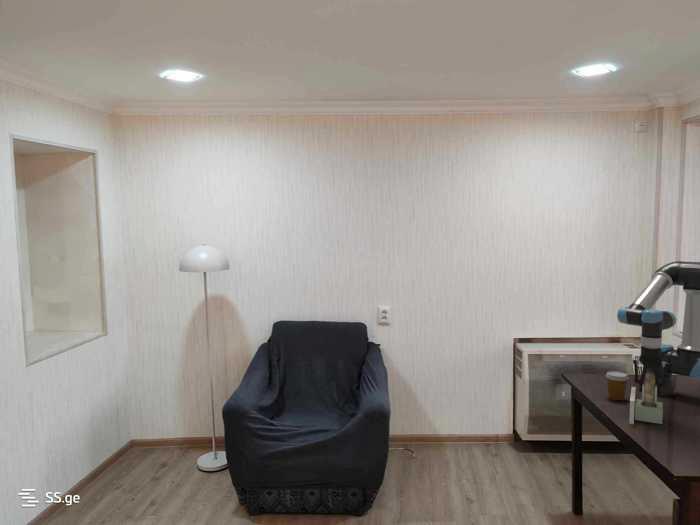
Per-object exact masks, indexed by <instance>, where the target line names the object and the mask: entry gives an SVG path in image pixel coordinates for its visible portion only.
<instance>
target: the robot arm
mask: <svg viewBox="0 0 700 525" xmlns="http://www.w3.org/2000/svg"><path fill="white" fill-rule="evenodd" d="M672 286H682V290H683V292H684V293H685V301H684V302H685V304H684V315H683V326H682V334H681V343H680V344H679V345H678V346H677V348H676V349H674V348H675V347H674V345H672V344H667V343H666V344H664V343H662V341H663V331H664V330H668V329H671V328H672V327H674V326H676V323H677V318H676V315H675V314H674V313H673V312H672V311H668V310H658V309H652V308H653V307H654V305H655V304H656V303H657V302H658V301H659V300H660V298H661V296H662V295H663V294H665V292H666V290H669V289H671V288H672ZM616 315H617V316H616V317H617V321H618V322H619V323H621V324H625V325H630V326H638V327H641V334H640V336H641V338H640V344H641V346H640V356H639V357H638V358H633V360H632V364H633V366H634V383H636V384H638V385H639V388H638V391H639V393H641V400H644V381H645V374H646V372H650V373H655V402H658V401H657V399H658V397H674V396H676V394H677V388H676V385H675V382H674V378H673V375H677V376H682V377H685V378H686V377H687V378H690V379H697V380H700V261H682V260H681V261H680V260H677V261H672V262H669V263H666V264H664V265H662V266H661V267H659V268H658V269H657V270H655V271H654V273H653V274H651V279H650V281H649V282H648V283H647V284H646V285H645V287H644V288H643V289H642V291H640V292H639V294H638V296H637V297H636V298H635V299H634V300H633V301H632V303H631V304H630V305H629V306H628V307H627V306H622V307H620V308H618V311H617V314H616ZM640 363H641V365H642V368H643V369H642V371H641V374H640V375H641V376H640V379H639V364H640Z"/></svg>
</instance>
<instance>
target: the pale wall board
mask: <svg viewBox="0 0 700 525" xmlns="http://www.w3.org/2000/svg"><path fill="white" fill-rule="evenodd" d="M636 389H637V388H636V386H631V391H630V399H629V418H628V419H629V422H628V423H629V425H634V424H635V423H634V422H635V405H636V392H637V390H636Z"/></svg>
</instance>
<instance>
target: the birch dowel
mask: <svg viewBox="0 0 700 525" xmlns="http://www.w3.org/2000/svg"><path fill="white" fill-rule="evenodd" d="M654 405H655V373H650V372H646V374H645V381H644V406H649V407H654Z"/></svg>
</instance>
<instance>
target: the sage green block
mask: <svg viewBox="0 0 700 525" xmlns="http://www.w3.org/2000/svg"><path fill="white" fill-rule="evenodd" d="M663 406H664V405H663V402H661V401H657V402H655V405H654V407H649V406H644V400H642V399H639V398H635V415H634V421H640V422H647V423H653V424H659V425H663V417H664V416H663V414H664V408H663Z"/></svg>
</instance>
